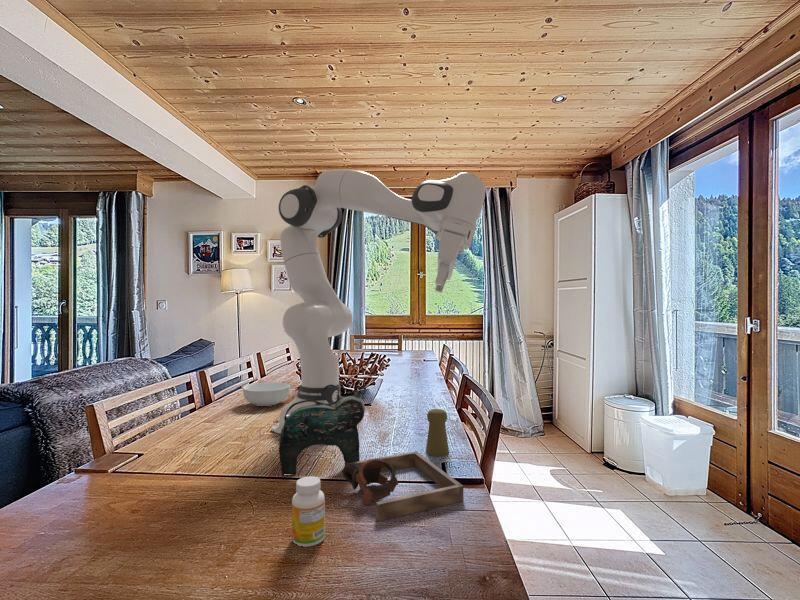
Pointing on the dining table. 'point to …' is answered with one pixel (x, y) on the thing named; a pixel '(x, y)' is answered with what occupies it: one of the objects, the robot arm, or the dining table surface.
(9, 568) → the dining table surface
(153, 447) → the dining table surface
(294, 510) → the supplement bottle
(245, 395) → the cereal bowl
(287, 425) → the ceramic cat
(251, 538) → the dining table surface
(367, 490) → the pottery mug
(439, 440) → the cork
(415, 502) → the wooden open frame
